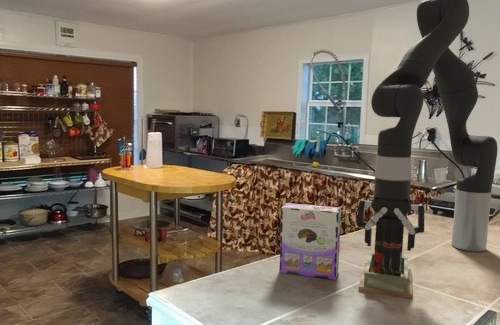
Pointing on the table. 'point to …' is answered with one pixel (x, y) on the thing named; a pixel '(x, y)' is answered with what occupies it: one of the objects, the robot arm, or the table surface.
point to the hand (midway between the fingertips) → (388, 247)
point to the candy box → (310, 240)
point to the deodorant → (388, 246)
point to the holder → (386, 280)
